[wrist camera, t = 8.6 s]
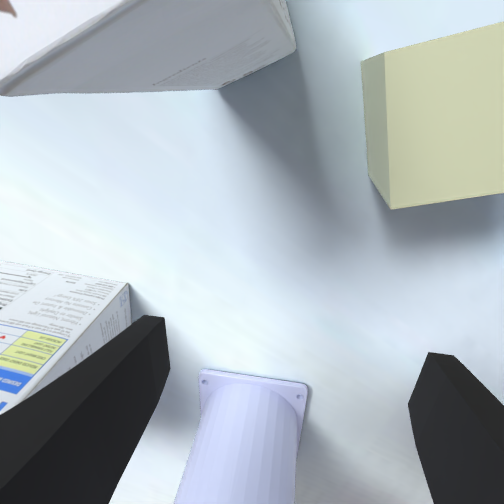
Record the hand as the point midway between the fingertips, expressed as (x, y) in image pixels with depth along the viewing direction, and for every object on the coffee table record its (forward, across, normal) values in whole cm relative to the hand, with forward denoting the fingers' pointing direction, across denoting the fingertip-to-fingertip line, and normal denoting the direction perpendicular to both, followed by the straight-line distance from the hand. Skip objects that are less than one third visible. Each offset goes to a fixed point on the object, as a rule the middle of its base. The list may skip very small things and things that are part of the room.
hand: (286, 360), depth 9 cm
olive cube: (+10, -5, -6) cm, 13 cm away
